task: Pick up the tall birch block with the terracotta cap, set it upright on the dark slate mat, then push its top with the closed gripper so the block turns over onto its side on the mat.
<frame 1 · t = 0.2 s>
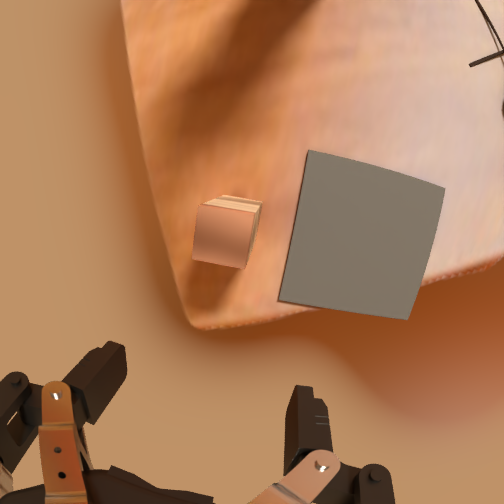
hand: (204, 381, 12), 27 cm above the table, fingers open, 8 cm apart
slate mat: (366, 242, 36), on the table
birch block: (240, 217, 37), on the table
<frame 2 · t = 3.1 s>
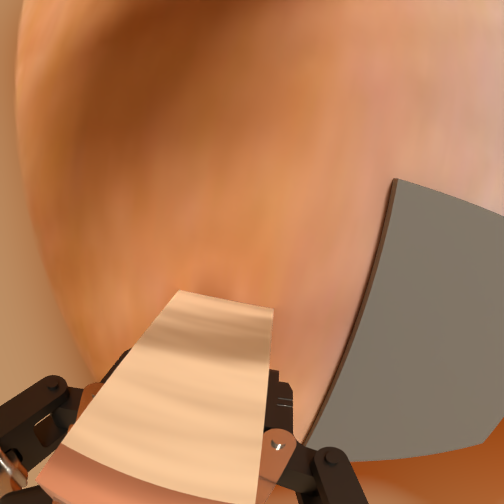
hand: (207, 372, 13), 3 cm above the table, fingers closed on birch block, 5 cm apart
slate mat: (468, 364, 15), on the table
birch block: (220, 339, 15), on the table, touching gripper
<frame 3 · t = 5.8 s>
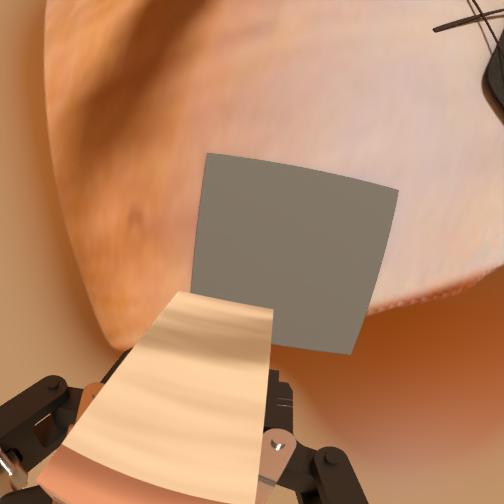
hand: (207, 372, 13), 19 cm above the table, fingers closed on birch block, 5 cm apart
slate mat: (288, 262, 31), on the table
birch block: (220, 339, 15), point 16 cm above the table, touching gripper
sushi plate: (496, 28, 19), on the table
when the fingers open (5 cm above the table, at t = 8.8 s): birch block drops 1 cm, resting on slate mat.
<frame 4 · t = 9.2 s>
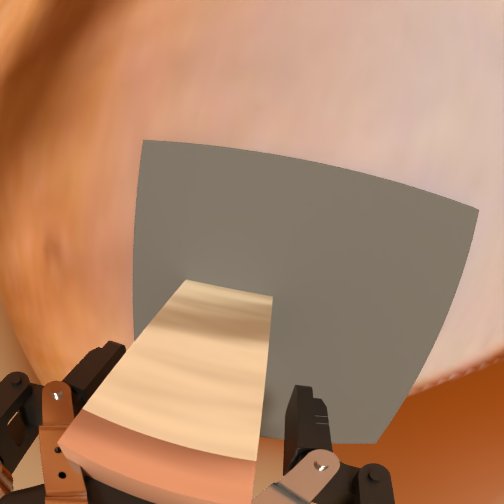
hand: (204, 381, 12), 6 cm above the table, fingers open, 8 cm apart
slate mat: (290, 333, 17), on the table
birch block: (223, 325, 17), point 1 cm above the table, touching slate mat
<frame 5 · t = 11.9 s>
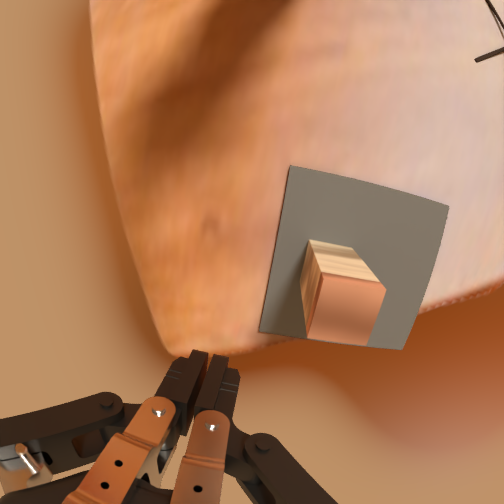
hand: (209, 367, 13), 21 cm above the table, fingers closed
slate mat: (357, 269, 32), on the table
birch block: (325, 264, 32), point 1 cm above the table, touching slate mat
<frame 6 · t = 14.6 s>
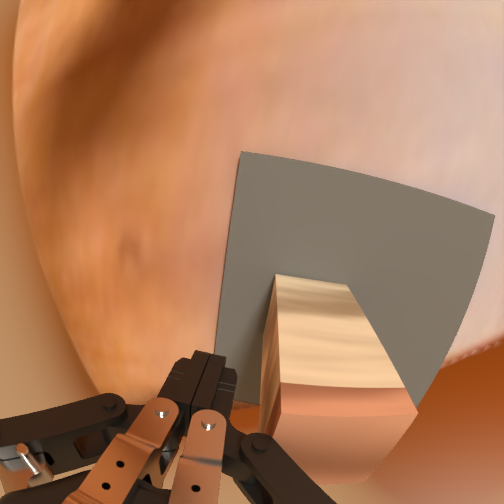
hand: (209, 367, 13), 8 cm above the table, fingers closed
slate mat: (355, 315, 20), on the table
birch block: (304, 312, 20), point 1 cm above the table, touching gripper, hand, slate mat
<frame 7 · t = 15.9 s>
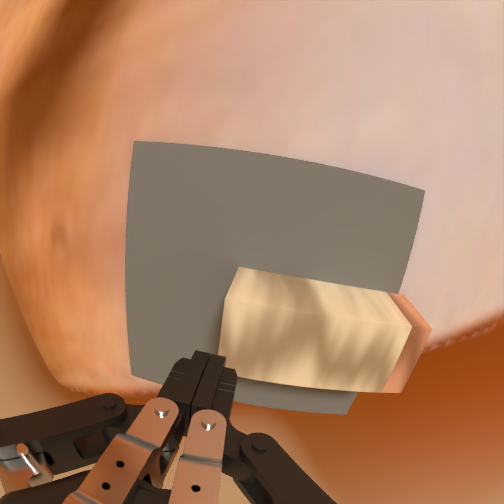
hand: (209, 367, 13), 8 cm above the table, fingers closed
slate mat: (256, 300, 21), on the table
birch block: (227, 317, 18), point 3 cm above the table, tilted 90°, touching slate mat
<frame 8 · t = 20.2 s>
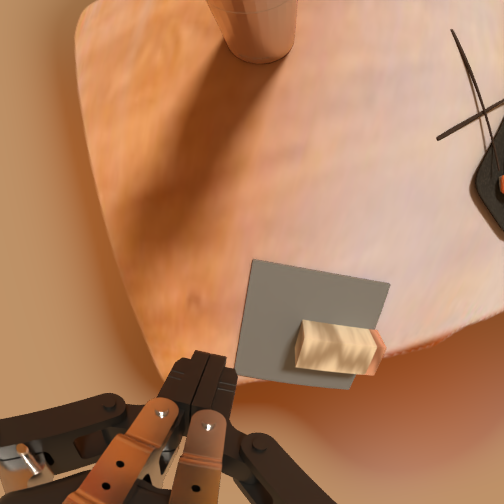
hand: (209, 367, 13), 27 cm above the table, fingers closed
slate mat: (308, 333, 42), on the table
birch block: (299, 343, 39), point 3 cm above the table, tilted 90°, touching slate mat
sushi plate: (496, 118, 30), on the table
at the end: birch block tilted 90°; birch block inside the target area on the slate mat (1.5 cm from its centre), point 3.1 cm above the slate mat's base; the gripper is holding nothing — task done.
